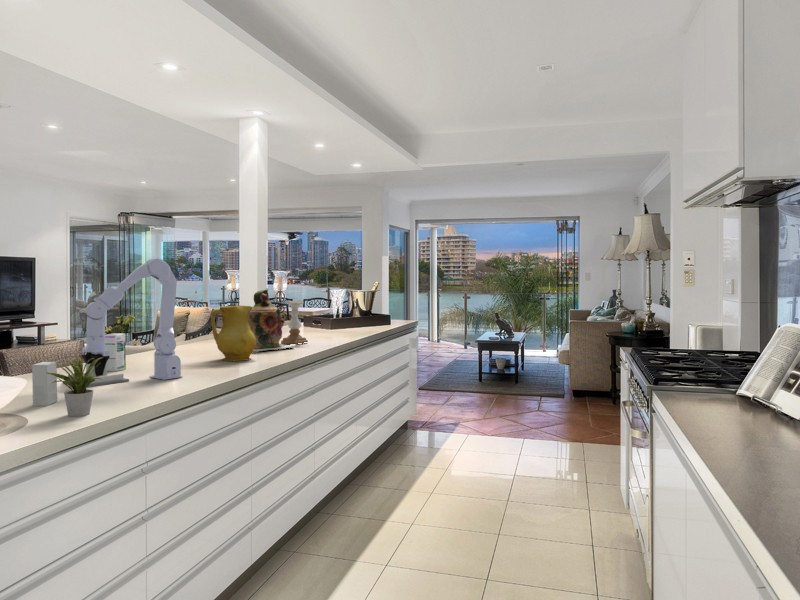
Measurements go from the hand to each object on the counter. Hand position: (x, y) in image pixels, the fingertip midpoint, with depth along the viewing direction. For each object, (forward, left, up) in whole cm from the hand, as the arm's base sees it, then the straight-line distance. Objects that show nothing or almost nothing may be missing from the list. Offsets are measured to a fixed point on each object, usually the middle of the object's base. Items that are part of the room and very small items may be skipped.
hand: (95, 374), depth 212 cm
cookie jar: (+31, -107, -3) cm, 111 cm away
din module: (0, 0, -2) cm, 2 cm away
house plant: (-43, +28, -3) cm, 51 cm away
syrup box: (+21, -19, -3) cm, 29 cm away
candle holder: (+35, -134, -3) cm, 139 cm away
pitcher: (+10, -70, -3) cm, 71 cm away
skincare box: (-23, +28, -3) cm, 36 cm away
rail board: (0, 0, -3) cm, 3 cm away
